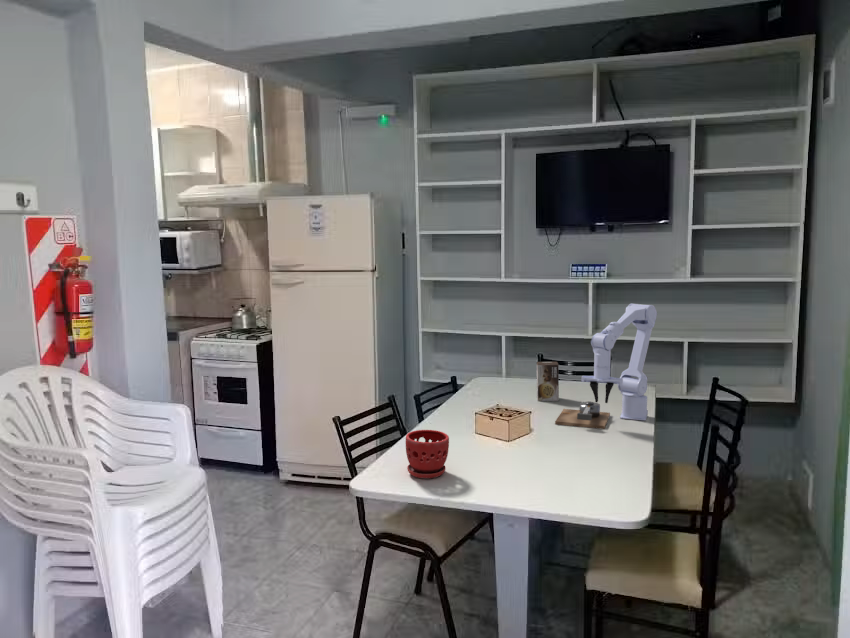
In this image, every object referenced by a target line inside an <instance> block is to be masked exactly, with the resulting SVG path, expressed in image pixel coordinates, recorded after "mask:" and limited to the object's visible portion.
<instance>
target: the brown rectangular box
mask: <svg viewBox="0 0 850 638" xmlns="http://www.w3.org/2000/svg"><path fill="white" fill-rule="evenodd" d="M559 369H560V367H559V363H558V361H536V399H537V402H558V401H559V400H560V397H559V396H560V395H559V394H560V391H559V385H560V384H559V383H560V382H559V381H560V380H559V379H560V378H559V377H560V376H559V375H560V373H559Z"/></svg>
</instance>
